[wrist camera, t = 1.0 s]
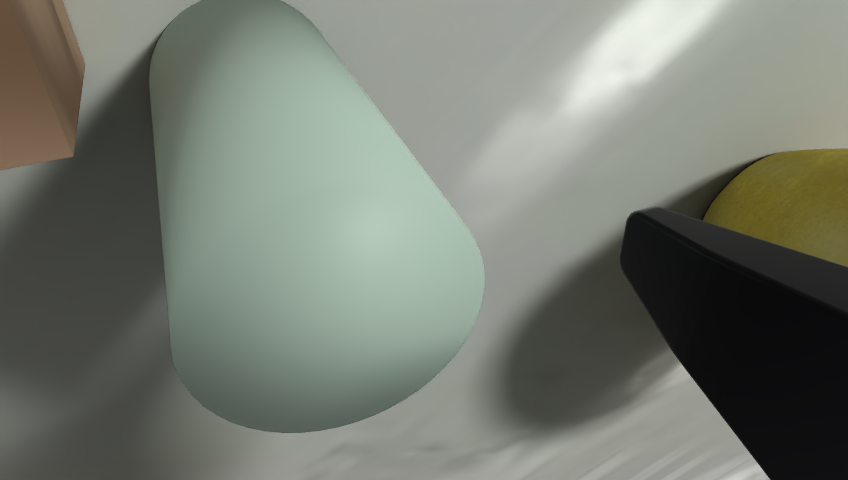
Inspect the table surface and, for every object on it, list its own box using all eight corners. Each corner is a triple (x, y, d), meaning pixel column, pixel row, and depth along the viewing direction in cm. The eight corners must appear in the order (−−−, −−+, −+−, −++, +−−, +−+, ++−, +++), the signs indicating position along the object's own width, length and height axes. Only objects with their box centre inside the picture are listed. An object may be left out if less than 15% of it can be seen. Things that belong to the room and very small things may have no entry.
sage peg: (344, 149, 16) (480, 382, 10) (176, 182, 15) (213, 467, 9) (325, -19, 13) (490, 151, 7) (123, 6, 12) (122, 231, 6)
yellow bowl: (823, 271, 28) (993, 392, 22) (624, 351, 26) (758, 507, 20) (907, 49, 21) (1171, 143, 16) (652, 131, 19) (858, 271, 14)
